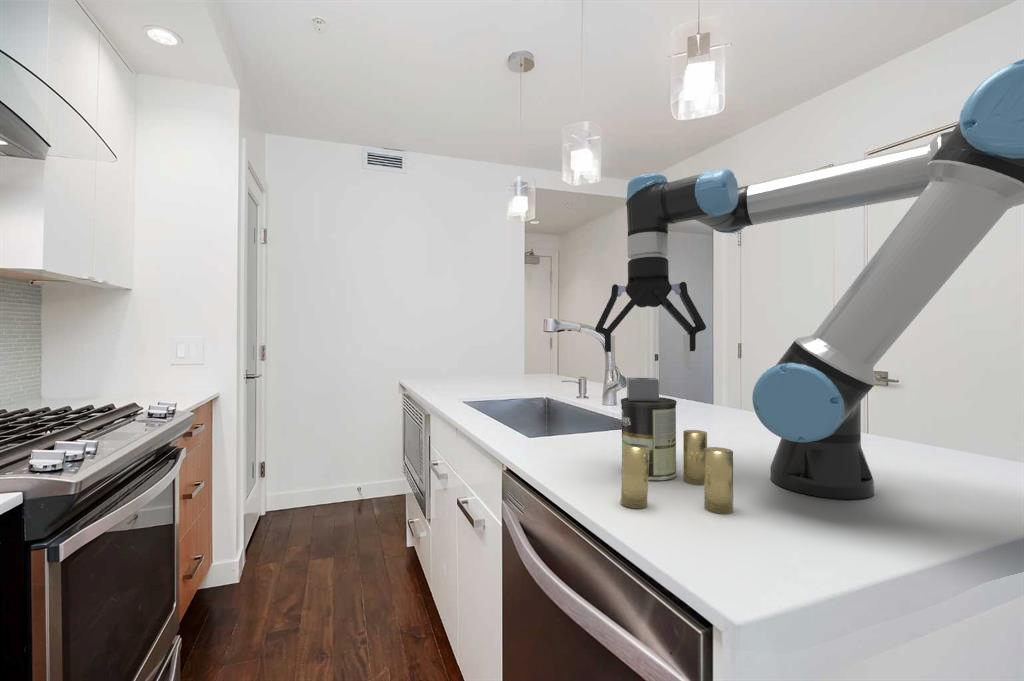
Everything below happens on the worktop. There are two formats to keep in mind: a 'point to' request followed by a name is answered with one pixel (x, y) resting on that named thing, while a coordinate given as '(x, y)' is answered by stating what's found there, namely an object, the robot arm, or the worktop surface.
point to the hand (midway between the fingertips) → (649, 369)
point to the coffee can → (652, 433)
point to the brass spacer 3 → (718, 480)
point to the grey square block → (642, 389)
